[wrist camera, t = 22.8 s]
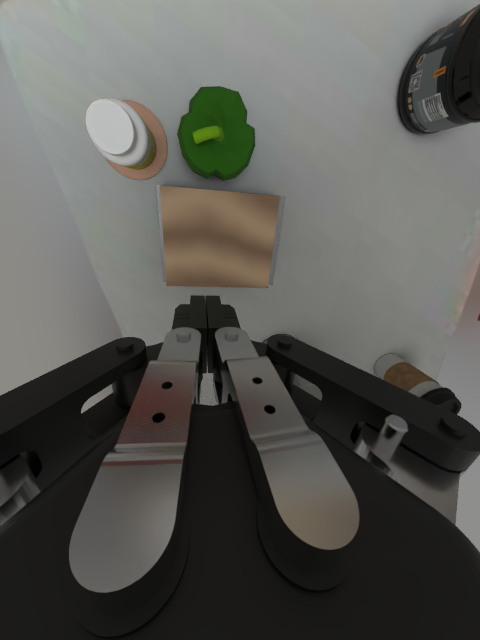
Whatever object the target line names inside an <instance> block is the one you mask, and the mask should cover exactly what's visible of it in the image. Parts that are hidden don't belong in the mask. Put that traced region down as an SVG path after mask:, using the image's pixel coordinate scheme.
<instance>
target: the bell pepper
mask: <svg viewBox="0 0 480 640" xmlns="http://www.w3.org/2000/svg"><path fill="white" fill-rule="evenodd" d="M246 119H247V110H246V108H245V105H244V103H243V101H242V99H241V97H240V94H239V92H237V91H233V90H230V89H227V88H224V87H220V86H218V87H201V88H200V89H199V90H198V92H197V93H196V94H195V95H194V97H193V98H192V99H191V100H190V104H189V113H187V114H185V115H184V116H182V118H181V122H180V125H179V129H178V133H177V134H178V138H179V143H180V147H181V151H182V155H183V157H184V159H185V160H186V162H187V163H188V165H189V166H190V168H191V169H192V171H193V172H195V173H197V174H199V175H201V176H203V177H205V178H207V179H208V178H209V177H211V176H212V175H214V174H215V175H216V176H218V177H219V178H220V179H222V180H228V179H232V178H236V177H237V176H238V175H239V174H240V173H241V172H242V171H243V170H244V169H245V168H246V167H247V166H248V163H249V161H250V158H251V155H252V152H253V150H254V147H255V129H254V128H253V127H251V126H250V125H248V124H247V123H246Z"/></svg>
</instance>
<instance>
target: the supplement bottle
mask: <svg viewBox="0 0 480 640" xmlns="http://www.w3.org/2000/svg"><path fill="white" fill-rule="evenodd" d="M86 126H87V130H88V133H89V135H90V137H91V139H92V140H93V142H94V144H95V146H96V147H97V149H98V150H99V151H100V153H101V154H102V155H103V156H104V157H106V158H107V159H108V160H110V161H111V162H113V163H115V164H117V165H121V166H124V167H128V168H131V169H136V170H140V169H144V168H146V167H148V166H149V165H150V164H151V163H152V162H153V160H154V158H155V155H156V142H155V138H154V136H153V133H152V132H151V130H150V128H149V127H148V126H147V124H146V123H145V122H144V121H143V119H142V118H141V117H140V115H139V114H138V113H137V112H136V111H135V110H134V109H133V108H132V107H131V106H129V105H128V104H127V103H125V102H123V101H121V100H118V99H99V100H96V101H94V102H93V103H92V104H91V105H90V106H89V108H88V110H87V113H86Z"/></svg>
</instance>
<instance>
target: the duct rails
mask: <svg viewBox="0 0 480 640" xmlns="http://www.w3.org/2000/svg"><path fill="white" fill-rule="evenodd" d="M156 186H157V200H158V213H159V227H160V241H161V254H162V268H163V282H166V271H165V257H164V242H163V227H162V212H161V198H160V186H159V185H156ZM284 201H285V196H280V201H279V208H278V216H277V223H276V230H275V238H274V245H273V253H272V260H271V267H270V275H269V282H268V284H270V285H272V284H273V277H274V270H275V264H276V257H277V250H278V243H279V236H280V229H281V222H282V215H283V208H284Z"/></svg>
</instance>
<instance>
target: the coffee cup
mask: <svg viewBox="0 0 480 640" xmlns="http://www.w3.org/2000/svg"><path fill="white" fill-rule="evenodd" d="M374 369H375V371H376V373H377V374H378V375H379V376H380V377H381V378H382V380H384V381H386V382H388V383H390V384H393V385H395V386H397V387H399V388H401V389H403V390H405V391H407V392H410V393H412V394H414V395H416V396H418V397H420V398H422V399H424V400H427V401H429V402H431V403H433V404H435V405H437V406H439V407H441V408H444V409H446V410H448V411H450V412H452V413H454V414H456V415H457V414H458V413H459V411H460V409H461V402H460V401H459V400H458V399H457V398H456V397H455V394H454V393H453V392H452V391H451V390H450V389H448V388H443V387H442V386H440V385H439V383H438V382H436V381H435V380H433V379H432V378H430V377H429V376H427V375H426V374H424V373H423V372H421V371H420V370H418V369H417V368H415V367H414V366H412V365H411V364H409V363H407V362H406V361H404V360H403V359H401V358H400V357H399V356H397V355H396V354H392V353H390V354H386V355H384V356H382V357H380V358H379V359H378V360H377V362H376V363H375V366H374Z"/></svg>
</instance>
